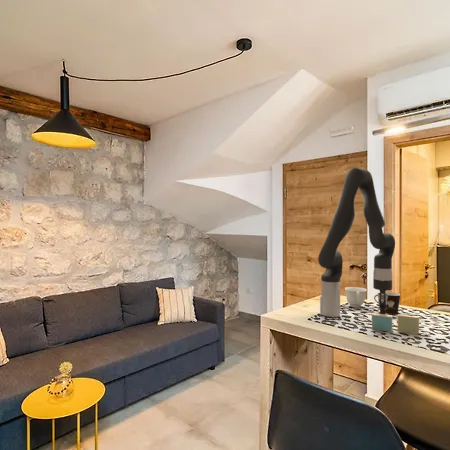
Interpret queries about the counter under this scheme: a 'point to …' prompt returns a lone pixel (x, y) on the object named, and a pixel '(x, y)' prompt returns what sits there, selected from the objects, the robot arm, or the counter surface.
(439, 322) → the counter surface
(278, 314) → the counter surface
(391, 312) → the coffee mug
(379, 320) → the tile
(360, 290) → the teacup
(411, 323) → the tile
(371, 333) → the counter surface
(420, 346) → the counter surface
